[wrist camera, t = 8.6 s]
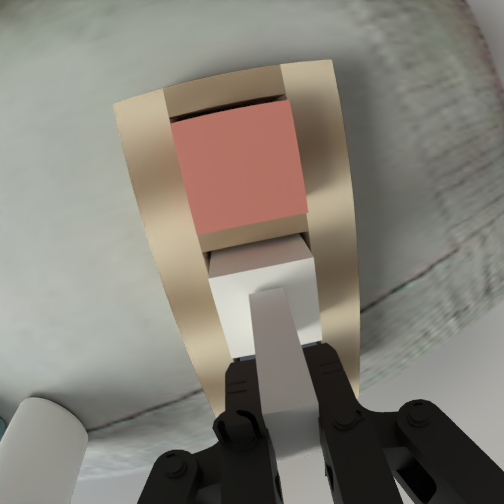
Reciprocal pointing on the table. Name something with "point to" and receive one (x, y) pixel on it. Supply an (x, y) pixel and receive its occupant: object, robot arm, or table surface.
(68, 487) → the potion bottle
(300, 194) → the red key
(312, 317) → the white key
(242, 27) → the table surface
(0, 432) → the flower pot
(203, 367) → the wooden block holder
